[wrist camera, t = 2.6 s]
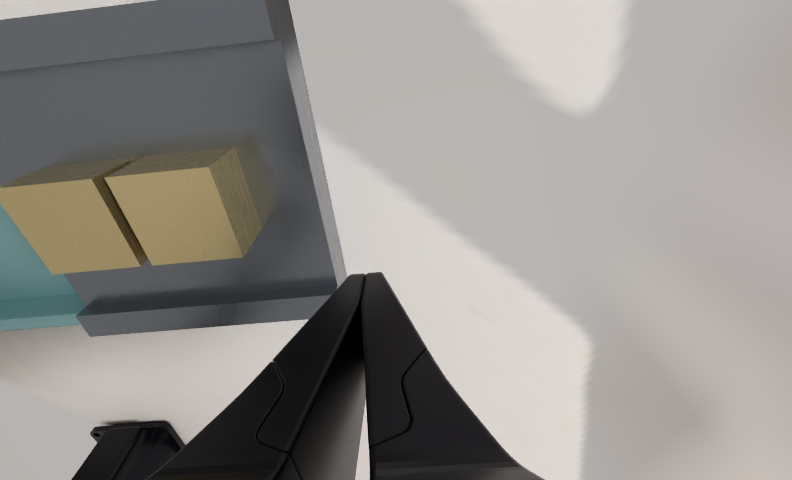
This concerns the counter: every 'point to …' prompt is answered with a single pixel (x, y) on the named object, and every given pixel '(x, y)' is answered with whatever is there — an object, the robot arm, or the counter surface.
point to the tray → (31, 285)
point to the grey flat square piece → (180, 146)
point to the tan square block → (188, 205)
